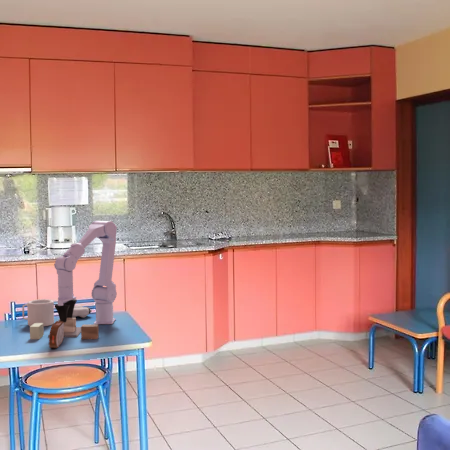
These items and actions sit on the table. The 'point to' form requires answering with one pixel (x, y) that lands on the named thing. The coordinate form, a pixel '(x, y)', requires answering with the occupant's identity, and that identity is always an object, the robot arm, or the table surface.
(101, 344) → the table surface
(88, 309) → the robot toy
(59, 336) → the tin
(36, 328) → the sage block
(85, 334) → the walnut block
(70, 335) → the slate plate
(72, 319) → the tan block
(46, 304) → the mug
